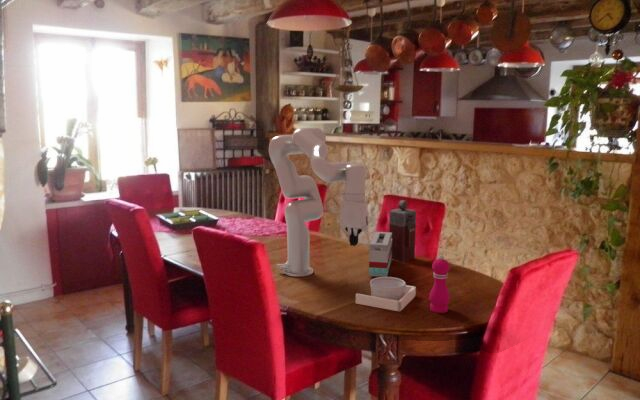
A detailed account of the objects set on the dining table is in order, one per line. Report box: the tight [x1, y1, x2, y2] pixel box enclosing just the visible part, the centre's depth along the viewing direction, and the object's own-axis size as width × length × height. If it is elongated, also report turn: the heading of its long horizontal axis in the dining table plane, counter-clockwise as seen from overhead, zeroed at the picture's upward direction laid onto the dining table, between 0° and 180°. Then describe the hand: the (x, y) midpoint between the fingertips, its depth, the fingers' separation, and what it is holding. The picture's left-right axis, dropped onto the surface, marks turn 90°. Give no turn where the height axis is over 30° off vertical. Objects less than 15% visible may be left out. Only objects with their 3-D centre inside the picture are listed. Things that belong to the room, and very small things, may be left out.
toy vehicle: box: [368, 231, 393, 278], centre depth 231 cm, size 8×30×15 cm, turn 168°
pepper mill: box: [428, 254, 451, 314], centre depth 183 cm, size 7×7×20 cm
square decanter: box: [388, 199, 417, 263], centre depth 245 cm, size 9×11×28 cm
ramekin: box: [369, 276, 407, 301], centre depth 194 cm, size 13×13×7 cm
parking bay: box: [355, 284, 417, 313], centre depth 195 cm, size 17×18×4 cm
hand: (353, 244), depth 198 cm, fingers closed
